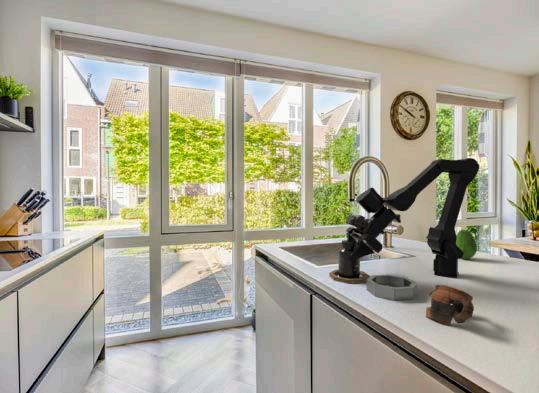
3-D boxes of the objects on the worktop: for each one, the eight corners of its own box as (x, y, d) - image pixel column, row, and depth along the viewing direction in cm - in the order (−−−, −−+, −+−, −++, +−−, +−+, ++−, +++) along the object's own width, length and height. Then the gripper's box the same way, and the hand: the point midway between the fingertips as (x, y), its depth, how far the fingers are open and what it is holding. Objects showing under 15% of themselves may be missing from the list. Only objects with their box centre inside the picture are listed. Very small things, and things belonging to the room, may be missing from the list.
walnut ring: (373, 276, 100) (373, 273, 99) (360, 285, 90) (360, 282, 90) (339, 270, 107) (339, 267, 107) (324, 278, 97) (324, 275, 97)
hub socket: (420, 290, 86) (420, 279, 86) (409, 303, 76) (409, 291, 76) (376, 282, 93) (376, 272, 93) (361, 293, 83) (361, 282, 83)
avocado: (449, 258, 124) (449, 229, 123) (461, 256, 127) (461, 227, 127) (469, 262, 116) (469, 231, 116) (481, 260, 120) (481, 230, 119)
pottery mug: (414, 313, 71) (424, 281, 73) (450, 331, 71) (458, 297, 73) (449, 322, 59) (459, 283, 62) (492, 343, 59) (501, 303, 62)
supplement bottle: (361, 281, 94) (361, 243, 94) (338, 280, 96) (338, 242, 95) (358, 274, 101) (358, 239, 101) (338, 273, 102) (338, 238, 102)
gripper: (351, 204, 107) (321, 235, 107) (372, 207, 89) (335, 245, 88) (373, 226, 108) (342, 257, 108) (398, 233, 89) (361, 271, 89)
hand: (344, 257), depth 98 cm, fingers open, 8 cm apart
